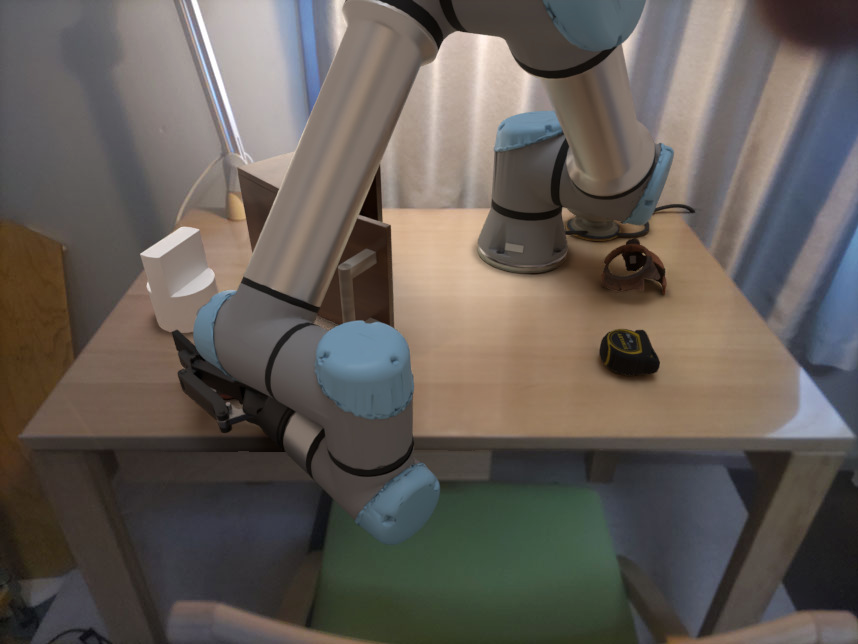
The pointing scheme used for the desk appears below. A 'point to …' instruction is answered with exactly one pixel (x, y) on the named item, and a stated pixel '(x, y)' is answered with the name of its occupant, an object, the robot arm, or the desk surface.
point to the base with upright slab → (178, 279)
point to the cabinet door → (363, 277)
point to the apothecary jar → (593, 226)
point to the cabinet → (265, 183)
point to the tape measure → (629, 352)
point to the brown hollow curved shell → (634, 268)
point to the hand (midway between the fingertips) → (202, 328)
